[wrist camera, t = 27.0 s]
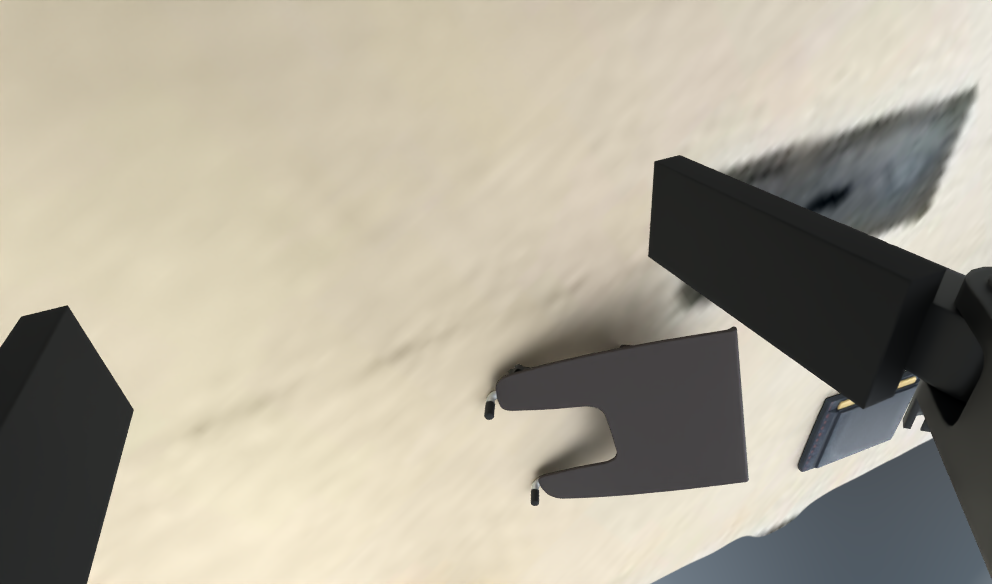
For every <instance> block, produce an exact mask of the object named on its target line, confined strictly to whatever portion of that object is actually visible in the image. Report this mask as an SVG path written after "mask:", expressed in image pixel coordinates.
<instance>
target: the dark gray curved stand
mask: <svg viewBox="0 0 992 584" xmlns="http://www.w3.org/2000/svg"><path fill="white" fill-rule="evenodd" d="M496 399H498V402H499V404H500V406H501V407H502V408H503V409H504V410H509V411H519V410H545V409H560V408H571V407H582V406H590V407H595V408H598V409H600V410H601V411H602V412H603V413H604V414H605V416H606V418H607V421H608V424H609V427H610V430H611V433H612V436H613V439H614V443H615V446H616V450H617V454H616V456H615V457H614V458H613V459H611V460H609V461H605V462H601V463H595V464H590V465H584V466H579V467H574V468H570V469H566V470H561V471H557V472H553V473H549V474H545V475H542V476H540V477H539V478H538V479H537V480H535V481H534V482H533V484H532V488H531V504H532V505H533V506H537V505H538V504H539V486H541V488H542V489H543V490H544V491H545V492H546V493H547V494H548V495H550V496H552V497H555V498H562V499H565V498H591V497H607V496H621V495H633V494H644V493H654V492H665V491H674V490H684V489H693V488H701V487H709V486H718V485H726V484H733V483H741V482H747V481H748V480H749V478H748V466H747V453H746V440H745V427H744V415H743V402H742V389H741V377H740V364H739V351H738V338H737V328H736V327H732V328H730V329H728V330H723V331H717V332H710V333H704V334H698V335H691V336H685V337H679V338H673V339H667V340H661V341H655V342H650V343H644V344H639V345H634V346H633V345H621V346H620V348H618V349H613V350H608V351H603V352H598V353H593V354H588V355H583V356H578V357H574V358H570V359H565V360H561V361H557V362H553V363H548V364H544V365H540V366H537V367H533V368H529V367H523V366H522V365H520V364H517V365H516V366H515V367H514V368H513V369H511V370H509V372H508V375H505V376H504V377H502V378H501V379H500V380H499V381H498V382H497V385H496V390H495V391H493V392H491V393H490V394H489V395H488V397H487V400H486V405H485V415H484V417H485V418H486V419H488V420H491V419H493V418H494V410H495V400H496Z"/></svg>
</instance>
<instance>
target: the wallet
mask: <svg viewBox="0 0 992 584" xmlns="http://www.w3.org/2000/svg"><path fill="white" fill-rule="evenodd" d="M919 381H920V378H918V377H917V376H915V375H913V374H912V373H910V372H908V371H905V372H904V374H903V376H902V378H901V381H900V383H899V386H898V388H897V391H896V393H895V395H894V396H893V397H891V398H889V399H886V400H884V401H882V402H880V403H877V404H875V405H873V406H870V407H868V408H866V409H864V410H863V409H862V408H860V407H859V406H858V405H856V404H855V403H853V402H852V401H851V400H849V399H848V398H846V397H845V396H844V395H842V394H839V395H836V396H833V397H830V398H827V399H826V400H825V403H824V405H823V407H822V410H821V412H820V414H819V416H818V418H817V420H816V423H815V425H814V428H813V430H812V432H811V435H810V437H809V440H808V442H807V444H806V447H805V449H804V452H803V454H802V457H801V459H800V462H799V465H798V468H799V470H800V471H801V472H804V471H807V470H810V469H813V468H819V467H822V466H824V465H827V464H829V463H832V462H834V461H837V460H839V459H842V458H845V457H847V456H850V455H852V454H855V453H857V452H860V451H862V450H865V449H867V448H870V447H873V446H875V445H878V444H880V443H883V442H885V441H888V440H890V439H891V438H892V436H893V434H894V433H895V431H896V429H897V427H898V425H899V423H900V421H901V419H902V417H903V415H904V413H905V411H906V409H907V407H908V405H909V403H910V401H911V399H912V397H913V395H914V393H915V390H916V388H917V386H918V384H919Z"/></svg>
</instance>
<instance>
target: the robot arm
mask: <svg viewBox="0 0 992 584" xmlns="http://www.w3.org/2000/svg"><path fill="white" fill-rule="evenodd" d="M648 257H650V258H651V259H653V260H654V261H655V262H657V263H658V264H660V265H661V266H662V267H664V268H665V269H667V270H668V271H669V272H671V273H672V274H674V275H675V276H676V277H678V278H679V279H681V280H682V281H684V282H685V283H686V284H688V285H689V286H691V287H692V288H693V289H695V290H696V291H698V292H699V293H700V294H702V295H703V296H705V297H706V298H707V299H709V300H710V301H712V302H713V303H714V304H716V305H717V306H719V307H720V308H721V309H723V310H724V311H726V312H727V313H728V314H730V315H731V316H733V317H734V318H735V319H737V320H738V321H740V322H741V323H742V324H744V325H745V326H747V327H748V328H749V329H751V330H752V331H754V332H755V333H757V334H758V335H759V336H761V337H762V338H764V339H765V340H766V341H768V342H769V343H771V344H772V345H773V346H775V347H776V348H778V349H779V350H780V351H782V352H783V353H785V354H786V355H787V356H789V357H790V358H792V359H793V360H794V361H796V362H797V363H799V364H800V365H801V366H803V367H804V368H806V369H807V370H808V371H810V372H811V373H813V374H814V375H815V376H817V377H818V378H820V379H821V380H822V381H824V382H825V383H827V384H828V385H830V386H831V387H832V388H834V389H835V390H837V391H838V392H839V393H841V394H842V395H844V396H845V397H846V398H848V399H849V400H851V401H852V402H853V403H855V404H856V405H858V406H859V407H860V408H862V409H863V410H864V409H866V408H868V407H870V406H873V405H875V404H877V403H880V402H882V401H884V400H886V399H889V398H891V397H893V396H894V395H895V393H896V391H897V388H898V386H899V383H900V381H901V378H902V376H903V374H904V371H905V370H907V371H908V372H910V373H912V374H913V375H915V376H917V377H918V378H920V381H919V384H918V386H917V388H916V390H915V393H914V395H913V397H912V400H911V402H910V404H909V406H908V409H907V411H906V413H905V416H904V418H903V428H908V429H911V426H912V424H913V422H914V420H915V418H916V416H917V415H924V417H925V420H924V422H923V424H922V426H921V431H927V432H931V434H932V436H933V439H934V441H935V444H936V446H937V448H938V451H939V453H940V456H941V458H942V461H943V463H944V465H945V467H946V470H947V473H948V475H949V477H950V480H951V482H952V484H953V487H954V489H955V492H956V494H957V497H958V499H959V501H960V504H961V506H962V509H963V511H964V513H965V515H966V518H967V521H968V523H969V525H970V528H971V530H972V533H973V535H974V537H975V540H976V542H977V545H978V547H979V549H980V552H981V554H982V556H983V559H984V561H985V564H986V566H987V569H988V571H989V573H990V576H991V578H992V267H981V268H977V269H973V270H971V271H970V272H969V273H968V274H967V275H963V274H961V273H958V272H956V271H953V270H951V269H949V268H946V267H944V266H942V265H939V264H937V263H935V262H932V261H930V260H927V259H925V258H923V257H920V256H918V255H916V254H913V253H911V252H909V251H906V250H904V249H901V248H899V247H897V246H894V245H891V244H888V243H887V242H885V241H883V240H880V239H878V238H875V237H873V236H869V235H868V234H866V233H864V232H861V231H859V230H857V229H854V228H852V227H849V226H847V225H845V224H841V223H839V222H836V221H834V220H832V219H829V218H827V217H825V216H822V215H820V214H817V213H815V212H813V211H810V210H808V209H806V208H803V207H801V206H799V205H796V204H794V203H791V202H789V201H787V200H784V199H782V198H780V197H777V196H775V195H773V194H770V193H768V192H766V191H763V190H761V189H758V188H756V187H754V186H751V185H749V184H747V183H744V182H742V181H740V180H737V179H735V178H732V177H730V176H728V175H725V174H723V173H721V172H718V171H716V170H714V169H711V168H709V167H707V166H704V165H702V164H699V163H697V162H695V161H692V160H690V159H688V158H685V157H683V156H681V155H679V156H674V157H670V158H666V159H662V160H658V161H654V177H653V192H652V207H651V222H650V238H649V253H648ZM133 411H134V409H133V408H132V406H131V405H130V403H129V402H128V400H127V398H126V397H125V395H124V394H123V392H122V390H121V389H120V387H119V386H118V384H117V383H116V381H115V379H114V378H113V376H112V375H111V373H110V371H109V370H108V368H107V367H106V365H105V364H104V362H103V360H102V359H101V357H100V356H99V354H98V353H97V351H96V349H95V348H94V346H93V345H92V343H91V341H90V340H89V338H88V337H87V335H86V334H85V332H84V330H83V329H82V327H81V326H80V324H79V322H78V321H77V319H76V318H75V316H74V315H73V313H72V311H71V310H70V308H69V307H68V305H67V306H63V307H59V308H55V309H51V310H47V311H42V312H38V313H34V314H30V315H26V316H22V317H21V318H20V319H19V321H18V322H17V324H16V325H15V327H14V328H13V330H12V331H11V333H10V334H9V335H8V337H7V338H6V340H5V341H4V343H3V344H2V346H1V347H0V584H87V581H88V577H89V574H90V570H91V566H92V563H93V559H94V555H95V552H96V548H97V544H98V540H99V537H100V533H101V529H102V526H103V522H104V518H105V514H106V511H107V507H108V503H109V500H110V496H111V492H112V489H113V485H114V481H115V477H116V474H117V470H118V466H119V463H120V459H121V455H122V451H123V448H124V444H125V440H126V437H127V433H128V429H129V425H130V422H131V418H132V414H133Z"/></svg>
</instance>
